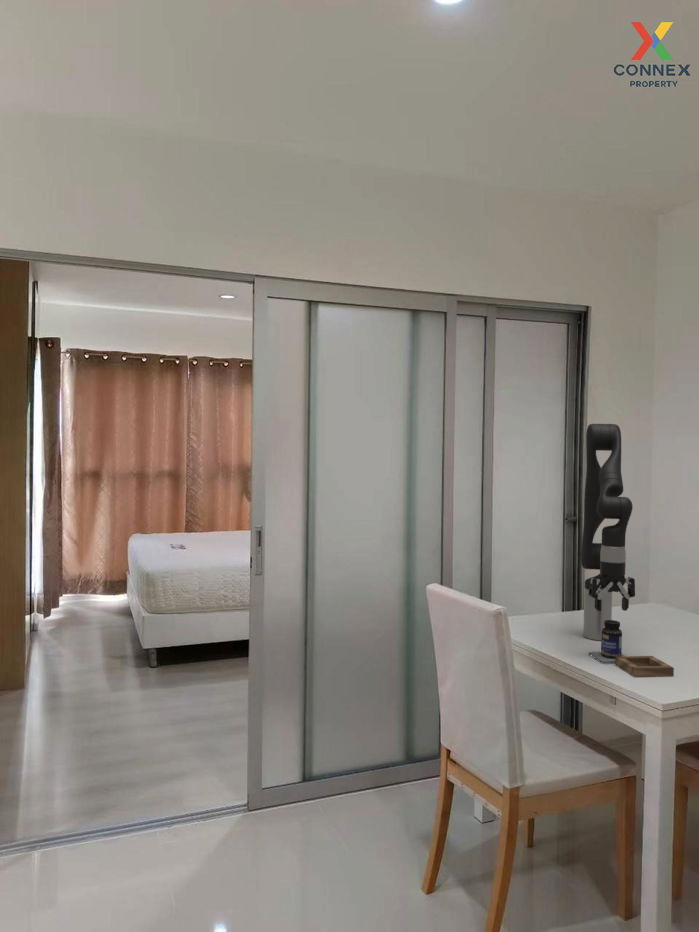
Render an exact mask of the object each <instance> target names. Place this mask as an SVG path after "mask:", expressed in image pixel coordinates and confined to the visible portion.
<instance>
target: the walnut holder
mask: <svg viewBox="0 0 699 932" xmlns="http://www.w3.org/2000/svg"><path fill="white" fill-rule="evenodd" d="M615 664H616V665H617V667H618V666H619V667H618V668H619V669H621V668H622V669H621V670H622V671H624V670H625V671H624V672H626V673H627V672H628V673H627V674H629V675H631V676H632V675H633V677H634V678H649V677H650V678H653V677H655V678H657V677H674V674H675V673H674V671H675V668H674V667H673V666H671V665H670V664H668V663H666V662H665V661H662V660H660V659H659V658H657V657H655V656H654V655H635V656H634V655H631V656H629V655H627V656H626V655H625V656H621V657H615ZM615 664H614V665H615ZM616 665H615V666H616ZM656 676H657V677H656Z"/></svg>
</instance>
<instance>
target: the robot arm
mask: <svg viewBox="0 0 699 932" xmlns="http://www.w3.org/2000/svg"><path fill="white" fill-rule="evenodd" d="M585 435H586V437H585V439H586V440H585V446H586V447H585V452H586V453H585V454H586V459H585V461H586V463H585V464H586V470H585V484H584V485H585V486H584V501H583V504H584V505H583V506H584V507H583V508H584V511H583V530H582V538H581V548H580V550H581V551H580V564H581V566H582V568H584V569H585V570H599V573H598V574H597V575H595V576H592V577H588V578H586V579H585V580H584V593H583V594H584V598H583V599H584V600H583V603H584V605H583V607H584V608H583V633H582V634H583V637H584V638H586V639H590V640H595V641H601V639H602V629H603V628H605V625H604V621H605V620H613V619H612V613H613V592H614V593H619V594H620V595H621V596H622V597H621V610H623V611H625V612H626V611H628V609H629V604H630V598H635V596H636V583H635V582H636V580H635V578H633V577H631V576H627V577H625V575H626V564H627V563H626V559H627V553H626V551H627V550H626V534H627V528H628V525H629V521H630V518H631V515H632V512H633V509H634V508H633V503H632V501H631V499H630V498H629V497H626V496H621V495H622V494H623V492H624V483H623V478H622V477H623V476H622V432H621V428H620V426H619V424H615V423H590V424H588V426H587V429H586V433H585ZM597 451H606V452H607V451H609V452H610V454H609V457H608V458H607V459H606V460H605V462H604V463H603V464H602V466H601V465H600V463H599V461H598V457H597ZM605 519H606V520H609V519H610V520H618V521H617V523H615V524H613V525H607V526H604V527H602V529H601V543H599V542H594V538H595V535H596V533H597V530H598V529H599V527H600V526H601V524H602V523H603V522H604V521H605ZM625 584H626V585H627V590H626V589H625V587H624V586H625Z"/></svg>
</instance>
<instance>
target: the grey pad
mask: <svg viewBox="0 0 699 932" xmlns="http://www.w3.org/2000/svg"><path fill="white" fill-rule="evenodd" d="M588 653H589V654H590V655H592V656H593V657H595V658H596V659H598V660H599V661H601V662H602V663H615V659H612V658H606V657H603V656H602V655H601V651H589V652H588ZM590 655H589V656H590ZM621 656H626V655H624V654H623V653H621ZM593 657H592V658H593ZM595 658H594V659H595ZM596 659H595V660H596ZM598 660H597V661H598ZM599 661H598V662H599ZM601 662H600V663H601ZM602 663H601V664H602Z"/></svg>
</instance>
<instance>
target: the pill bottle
mask: <svg viewBox="0 0 699 932" xmlns="http://www.w3.org/2000/svg"><path fill="white" fill-rule="evenodd" d="M604 625H605V628H603V629H602V639H601V640H600V641H601V642H600V643H601V644H600V646H601V647H600V652H601V655H602V656H603V657H606V658H612V659H615V657H621V654H622V651H623V650H622V649H623V647H622V645H623V642H622V641H623V631H622V630H621V629H620V628H621V622H620V621H618V620H613V619H612V620H605V621H604Z"/></svg>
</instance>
